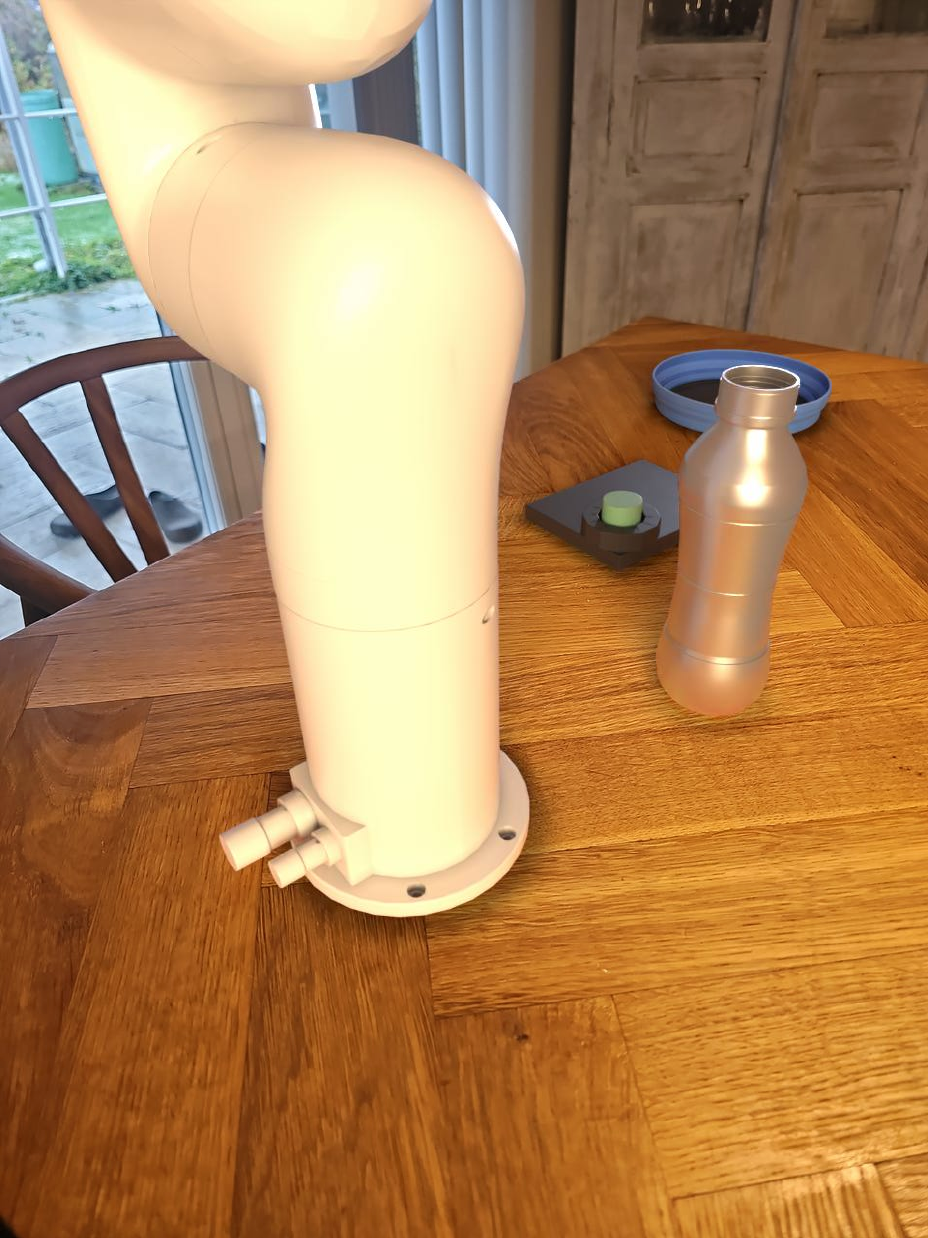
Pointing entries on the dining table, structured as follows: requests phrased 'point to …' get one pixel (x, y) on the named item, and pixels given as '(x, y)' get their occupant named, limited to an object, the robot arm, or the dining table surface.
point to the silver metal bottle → (732, 543)
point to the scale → (617, 547)
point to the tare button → (622, 509)
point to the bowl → (695, 384)
